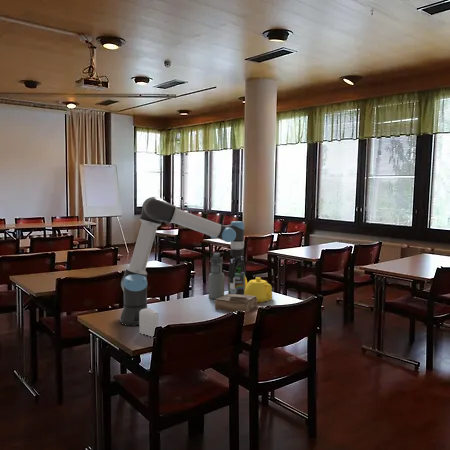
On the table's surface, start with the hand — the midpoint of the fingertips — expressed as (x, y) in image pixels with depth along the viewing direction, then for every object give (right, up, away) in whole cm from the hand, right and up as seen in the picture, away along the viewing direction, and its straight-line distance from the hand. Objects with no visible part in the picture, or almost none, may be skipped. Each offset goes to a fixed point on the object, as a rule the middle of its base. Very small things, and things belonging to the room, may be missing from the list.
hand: (236, 286), depth 262 cm
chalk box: (0, -4, 0) cm, 4 cm away
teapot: (+13, -11, +22) cm, 28 cm away
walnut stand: (0, -12, +1) cm, 12 cm away
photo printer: (-42, -16, -48) cm, 66 cm away
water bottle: (-12, -10, +24) cm, 29 cm away
